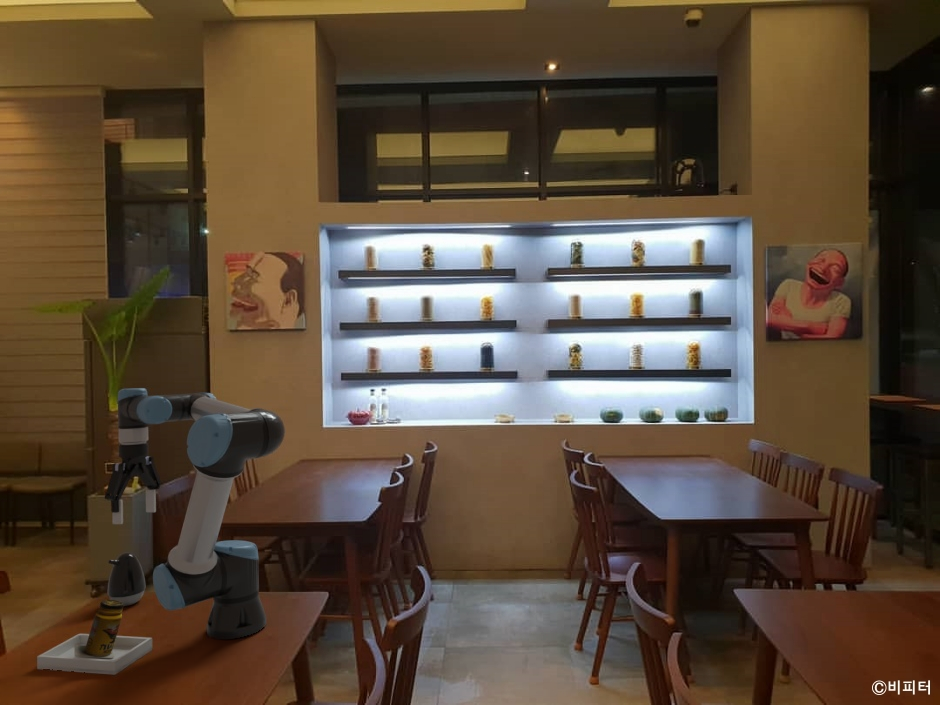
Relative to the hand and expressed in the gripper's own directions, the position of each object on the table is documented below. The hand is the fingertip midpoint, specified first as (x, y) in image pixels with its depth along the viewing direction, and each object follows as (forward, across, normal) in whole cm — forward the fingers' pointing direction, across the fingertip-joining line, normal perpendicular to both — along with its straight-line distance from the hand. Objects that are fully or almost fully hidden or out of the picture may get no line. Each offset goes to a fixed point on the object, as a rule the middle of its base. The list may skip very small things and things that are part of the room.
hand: (135, 517), depth 183 cm
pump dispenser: (+29, -11, -12) cm, 33 cm away
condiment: (+27, +24, +7) cm, 37 cm away
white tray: (+29, +24, +7) cm, 38 cm away
